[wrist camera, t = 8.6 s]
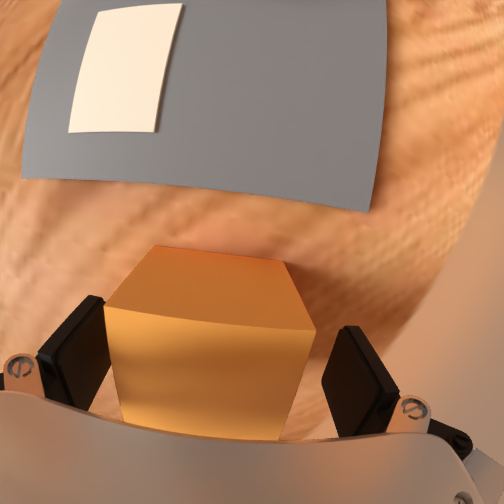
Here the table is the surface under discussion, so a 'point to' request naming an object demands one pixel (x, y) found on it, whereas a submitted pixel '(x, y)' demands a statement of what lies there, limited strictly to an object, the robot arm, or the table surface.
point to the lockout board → (214, 96)
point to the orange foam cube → (208, 344)
